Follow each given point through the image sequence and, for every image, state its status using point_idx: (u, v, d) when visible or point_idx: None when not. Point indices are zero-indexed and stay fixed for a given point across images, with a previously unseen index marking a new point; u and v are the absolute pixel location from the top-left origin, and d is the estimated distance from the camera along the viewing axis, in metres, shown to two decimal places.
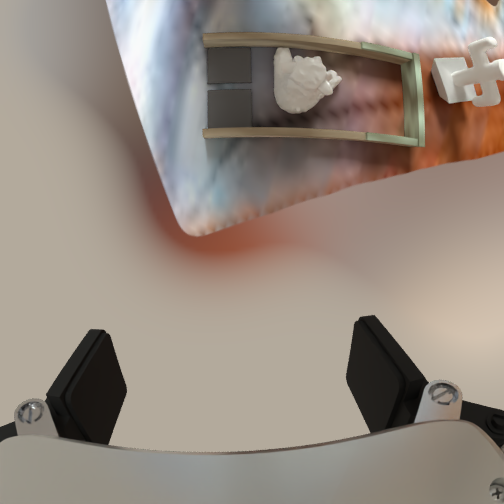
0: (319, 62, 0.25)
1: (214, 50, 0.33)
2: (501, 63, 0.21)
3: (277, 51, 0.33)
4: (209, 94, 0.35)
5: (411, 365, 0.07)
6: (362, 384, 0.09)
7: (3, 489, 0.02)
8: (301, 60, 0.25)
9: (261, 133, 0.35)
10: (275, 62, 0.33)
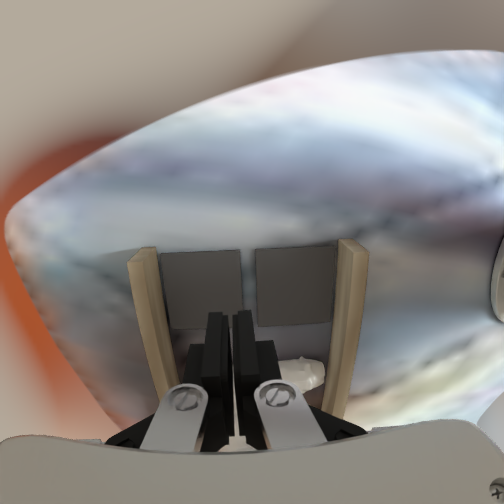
0: None
1: (330, 260, 0.20)
2: None
3: (317, 369, 0.21)
4: (230, 255, 0.20)
5: (253, 360, 0.08)
6: None
7: (3, 489, 0.02)
8: None
9: (151, 360, 0.19)
10: (295, 369, 0.21)
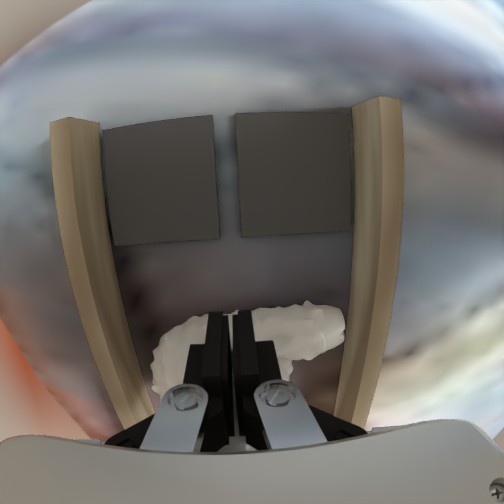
0: None
1: (343, 132, 0.13)
2: None
3: (332, 317, 0.14)
4: (199, 121, 0.12)
5: (252, 360, 0.08)
6: None
7: (3, 489, 0.02)
8: None
9: (77, 286, 0.12)
10: (296, 318, 0.13)
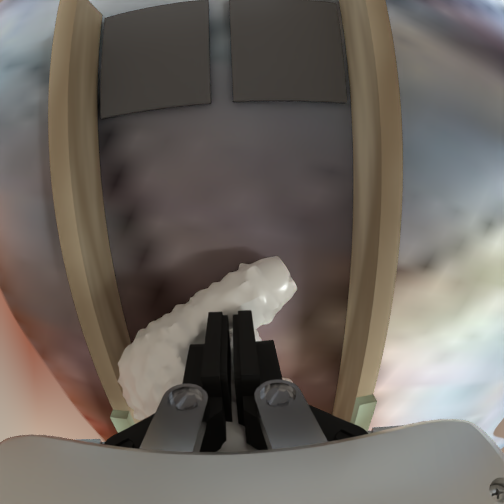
0: None
1: (332, 16, 0.11)
2: None
3: (271, 268, 0.13)
4: (196, 4, 0.10)
5: (253, 360, 0.08)
6: None
7: (3, 489, 0.02)
8: None
9: (54, 140, 0.10)
10: (232, 286, 0.12)
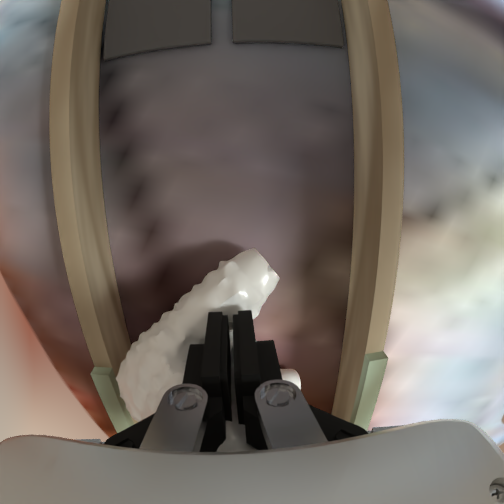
0: None
1: None
2: None
3: (248, 261, 0.12)
4: None
5: (253, 360, 0.08)
6: None
7: (3, 489, 0.02)
8: None
9: (56, 70, 0.09)
10: (211, 285, 0.12)
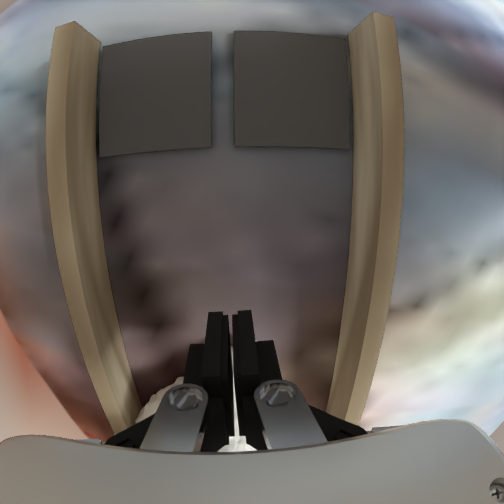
0: None
1: (340, 53, 0.11)
2: None
3: None
4: (198, 36, 0.11)
5: (253, 360, 0.08)
6: None
7: (3, 489, 0.02)
8: None
9: (53, 186, 0.10)
10: None
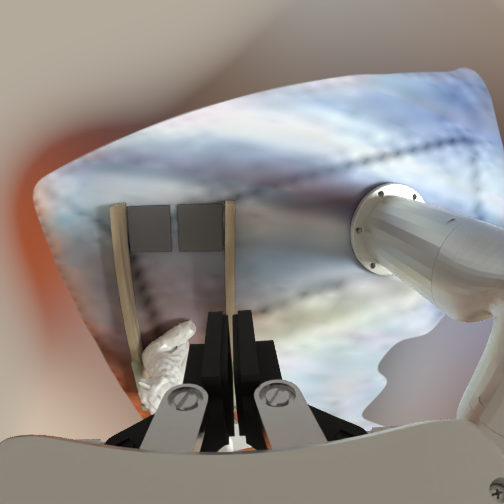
0: None
1: (219, 211, 0.35)
2: None
3: (184, 325, 0.38)
4: (164, 207, 0.34)
5: (253, 360, 0.08)
6: None
7: (3, 489, 0.02)
8: (151, 396, 0.29)
9: (117, 266, 0.33)
10: (173, 331, 0.38)
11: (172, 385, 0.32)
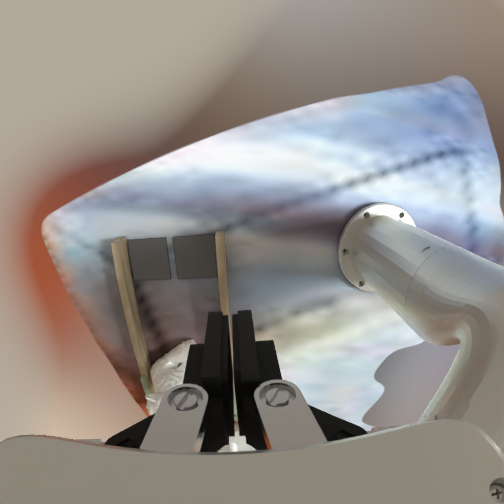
0: None
1: (212, 242, 0.38)
2: None
3: (187, 344, 0.41)
4: (161, 240, 0.38)
5: (252, 360, 0.08)
6: None
7: (3, 489, 0.02)
8: None
9: (122, 295, 0.37)
10: (177, 349, 0.41)
11: None
